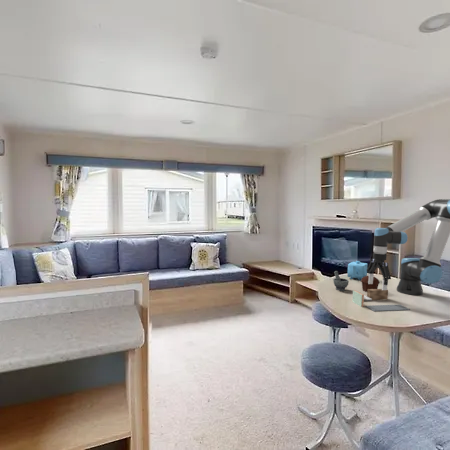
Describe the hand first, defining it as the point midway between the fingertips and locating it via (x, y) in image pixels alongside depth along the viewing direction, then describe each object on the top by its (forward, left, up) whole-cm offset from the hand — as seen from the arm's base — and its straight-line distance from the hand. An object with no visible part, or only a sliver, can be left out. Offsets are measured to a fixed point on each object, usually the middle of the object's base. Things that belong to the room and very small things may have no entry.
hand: (377, 286), depth 193 cm
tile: (+18, +8, -8) cm, 21 cm away
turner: (+4, 0, -8) cm, 8 cm away
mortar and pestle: (+13, -22, -8) cm, 27 cm away
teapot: (-16, -49, -8) cm, 52 cm away
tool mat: (+5, +17, -8) cm, 19 cm away
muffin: (-6, -17, -8) cm, 20 cm away
